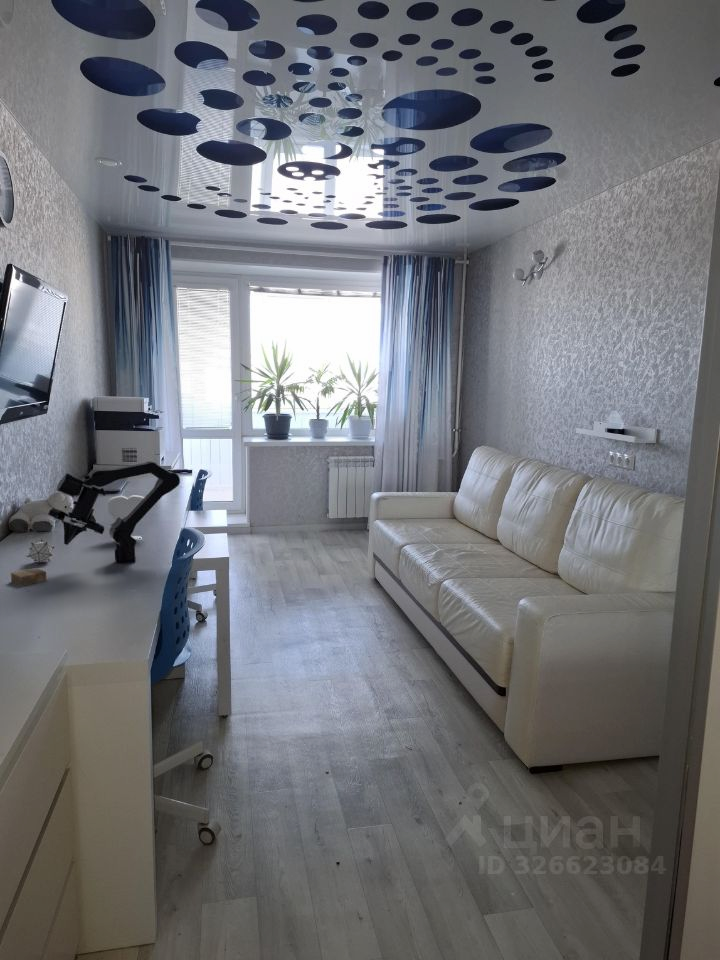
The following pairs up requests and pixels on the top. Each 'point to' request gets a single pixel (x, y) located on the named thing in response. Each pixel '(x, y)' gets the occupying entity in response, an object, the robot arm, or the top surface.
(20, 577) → the walnut block
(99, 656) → the top surface
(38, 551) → the game die
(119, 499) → the heart sculpture
